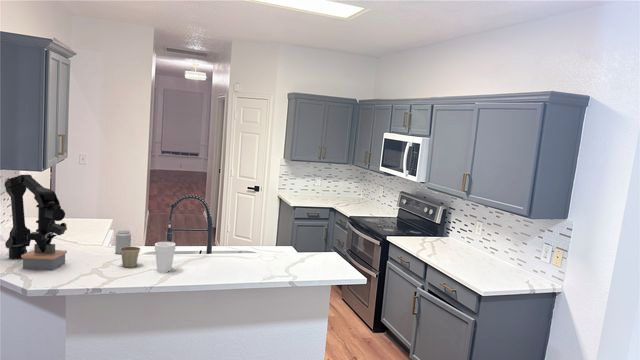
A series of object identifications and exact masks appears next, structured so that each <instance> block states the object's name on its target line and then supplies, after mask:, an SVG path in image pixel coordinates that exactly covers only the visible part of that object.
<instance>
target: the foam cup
mask: <svg viewBox="0 0 640 360" xmlns="http://www.w3.org/2000/svg"><path fill="white" fill-rule="evenodd" d="M154 251H155V252H154V253H155V260H156V261H155V262H156V271H157V272H158V271H159V272H158V273H162V272H165V273H169V272H168V271H170V270H171V271H172V269H173V268H172V267H173V261H174V255H175V252H176V243H175V242H173V241H159V242H156V243H154ZM171 271H170V272H171Z"/></svg>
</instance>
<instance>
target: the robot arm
mask: <svg viewBox="0 0 640 360" xmlns="http://www.w3.org/2000/svg"><path fill="white" fill-rule="evenodd" d="M4 188H5V191H6V193H7V194H8V195H9V197H10V204H11V216H12V217H11V218H12V228H11V230H10V232H9V237H8V239H7V240H6V241H5V245H4V246H5V248H7V249H8V259H10V260H23V258H21V255H23V254H25V253H28V249H27V247H30V244H31V241H34V242H35V244H37V245H38V246H39V248H40V250H41V252H45V246H46V244H52V241H53V239H54V238H55V237H56V236H61V235H64V234H65V232H66V231H67V229H68V228H67V223H66V222H62V223H56V222H60V221H63V219H64V218H65V216H66V213H65V210H64V209H62V206H61V204H60V200H59V199H58V197H57V194H56V193H55V191H54V190H52V189H50V188H47V187H44V186H43V185H42V184H40V183H39V182H38V181H37V180H35V178H33V175H32V174H20V175H17V176H14V177H10V178H7V179H6V180H5V181H4ZM27 190H28V191H30V192H31V193H32V194H33V195H34V197H33V198H34V200H35V201H36V203H37V204H36V205H35V207H36V208H37V210H38V211H37V212H38V213H37V216H38V217H37V220H36V221H35V223H36V224H37V228H36V229H35V231H32V232H31V229H30V228H28V227H27V226H26V220H25V219H26V217H25V208H24V207H25V206H24V195H25V194H26V192H27Z"/></svg>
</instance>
